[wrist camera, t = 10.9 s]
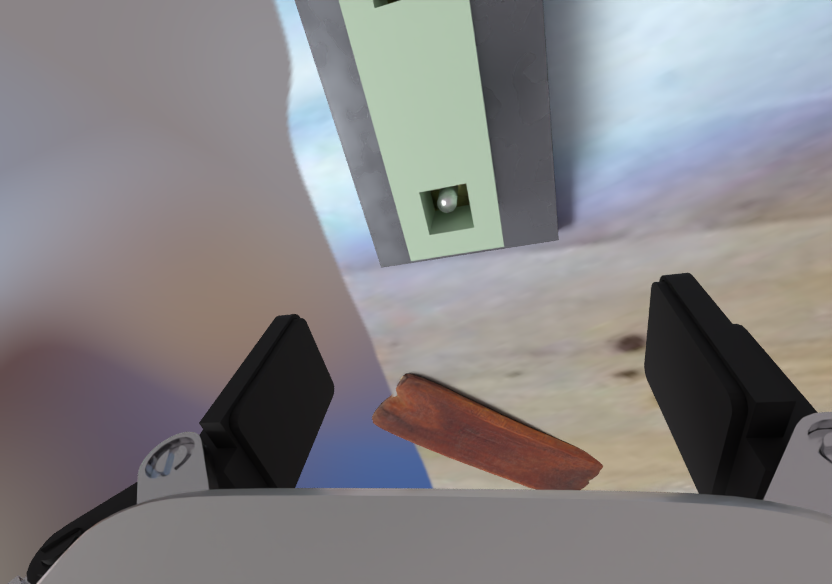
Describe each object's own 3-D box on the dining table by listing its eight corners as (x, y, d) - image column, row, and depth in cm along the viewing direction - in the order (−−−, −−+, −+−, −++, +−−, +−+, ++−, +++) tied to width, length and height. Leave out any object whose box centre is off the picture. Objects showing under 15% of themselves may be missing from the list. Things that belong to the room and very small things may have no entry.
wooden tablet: (369, 416, 48) (365, 428, 46) (406, 363, 42) (403, 375, 41) (559, 499, 52) (561, 513, 50) (615, 460, 46) (619, 474, 45)
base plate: (523, -222, 20) (539, -307, 15) (555, 231, 32) (569, 270, 27) (266, -116, 23) (207, -155, 18) (384, 258, 35) (369, 297, 30)
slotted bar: (452, -125, 20) (447, -156, 16) (500, 221, 29) (504, 246, 25) (336, -82, 21) (310, -102, 18) (418, 235, 30) (411, 261, 27)
